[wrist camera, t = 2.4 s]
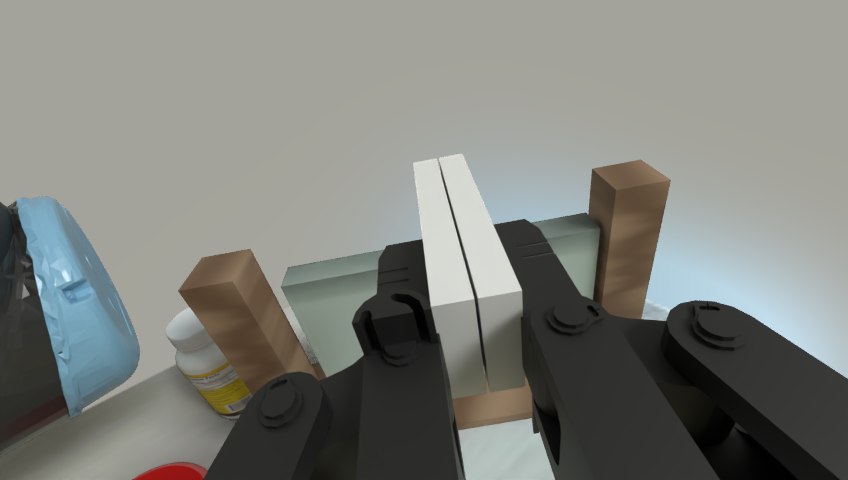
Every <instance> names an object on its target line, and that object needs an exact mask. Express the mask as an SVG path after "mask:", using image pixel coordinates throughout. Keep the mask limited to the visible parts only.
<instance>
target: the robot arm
mask: <svg viewBox="0 0 848 480" xmlns="http://www.w3.org/2000/svg"><path fill="white" fill-rule="evenodd" d="M439 163H440V169H439V166H438V162H437V159H431V160H426V161H421V162H415V163H413V166H414V174H415V182H416V190H417V198H418V206H419V214H420V222H421V231H422V239H421V240H415V241H410V242H404V243H399V244H393V245H388V246H386V248H385V249H384V251H383V253H382V254H381V256H380V257H379V259H378V277H377V286H378V287H377V294H376V295H374V296H373V297H371V298H370V299H368V300H366V301H365V302H364V303H363V304H362V305H361V306H360V307H359V309H358V310H357V311H356V312H355V315H354V318H353V320H352V326H353V328H354V331H355V333H356V336H357V339H358V341H359V344H360V346H361V349H362V351H363V354H364V355H363V356H362V357H361V358H360V359H359V360H357V361H356V362H355V363H354V364H352V365H351V366H349V367H347V368H345V369H344V370H342V371H339V372H337V373H335V374H333V375H331V376H329V377H327V378H324V379H322V380H320V381H318V380H317V379H316V378H315V377H314V376H313V375H312V374H309V373H305V372H301V371H298V372H291V373H285V374H283V375H281V376H278V377H276V378H274V379H272V380H270V381H269V382H268V383H266V384H265V385H264V386H262V387H261V388H260V389H259V390H257V392H256V393H255V394H254V395H253V397H252V398H251V399H250V401H249V402H248V403H247V404H246V406H245V408H244V410H243V411H242V413H241V415H240V417H239V418H238V420H237V422H236V423H235V425H234V427H233V429H232V430H231V432H230V434H229V436H228V437H227V439H226V441H225V442H224V444H223V446H222V448H221V449H220V451H219V453H218V455H217V456H216V458H215V460H214V461H213V463H212V465H211V467H210V468H209V470H208V472H207V473H206V475H205V477H204V479H203V480H466V478H465V472H464V465H463V459H462V453H461V446H460V440H459V434H458V427H457V422H456V418H455V413H454V407H453V401H452V399H455V398H461V397H467V396H473V395H479V394H485V393H487V391H486V384H485V376H484V371H485V375H486V379H487V383H488V387H489V391H490V393H491V392H497V391H503V390H509V389H514V388H520V387H525V375H526V378H527V381H528V384H529V387H530V389H531V392H532V423H533V432H534V433H539V431H540V434H541V437H542V441H543V444H544V447H545V450H546V453H547V456H548V459H549V462H550V465H551V468H552V471H553V474H554V477H555V480H848V379H847V378H845V377H844V376H842V375H841V374H839V373H838V372H836V371H835V370H833V369H832V368H830V367H829V366H827V365H826V364H824V363H822V362H821V361H819V360H818V359H816V358H815V357H813V356H812V355H810V354H809V353H807V352H805V351H804V350H802V349H801V348H799V347H798V346H796V345H795V344H793V343H792V342H790V341H788V340H787V339H786V338H784V337H782V336H781V335H779V334H778V333H776V332H775V331H773V330H772V329H770V328H769V327H767V326H766V325H764V324H763V323H761V322H759V321H758V320H756V319H755V318H753V317H752V316H750V315H748V314H746V313H744V312H742V311H740V310H738V309H736V308H734V307H731V306H728V305H724V304H720V303H717V302H712V301H696V300H695V301H690V302H685V303H681V304H679V305H677V306H676V307H674V308H673V309H671V310H670V312H669V315H668V317H667V320H666V321H658V320H644V319H631V318H624V317H618V316H615V315H611V314H609V313H608V312H607V311H606V310H605V309H604V308H603V307H602V306H601V305H600V304H599V303H597V302H595V301H593V300H592V299H590V298H588V297H585V296H582V295H581V294H580V292H579V291H578V289H577V287H576V286H575V284H574V283H573V281H572V279H571V278H570V276H569V275H568V273H567V271H566V270H565V268H564V267H563V265H562V263H561V262H560V260H559V259H558V257H557V255H556V254H554V251H553V249H552V248H551V246H550V244H549V243H547V240H546V238H545V236H544V235H543V233H542V232H541V230H540V228H538V227H537V226H535V225H534V224H532V223H530V222H529V221H527V220H525V219H522V220H517V221H512V222H506V223H500V224H495V225H493V223H492V221H491V218H490V216H489V214H488V212H487V209H486V207H485V205H484V202H483V200H482V198H481V195H480V193H479V191H478V189H477V186H476V184H475V182H474V179H473V177H472V175H471V172H470V170H469V168H468V166H467V163H466V161H465V159H464V157H463V155H462V154H457V155H452V156H447V157H442V158H439ZM440 170H441V173H440ZM441 176H442V177H441ZM139 356H140V348H139V343H138V339H137V336H136V333H135V330H134V328H133V325H132V323H131V320H130V318H129V316H128V313H127V311H126V309H125V307H124V305H123V303H122V301H121V299H120V297H119V294H118V292H117V290H116V288H115V286H114V284H113V282H112V281H111V279H110V277H109V275H108V273H107V271H106V269H105V268H104V266H103V264H102V262H101V261H100V259H99V257H98V255H97V254H96V252H95V250H94V249H93V247H92V245H91V244H90V242H89V240H88V239H87V237H86V236H85V234H84V232H83V231H82V229H81V228H80V227H79V225H78V224H77V222H76V221H75V220H74V218H73V217H72V215H71V214H70V213H69V212H68V210H67V209H66V208H64V207H63V206H62V205H61V204H59V203H58V202H57V200H55V199H52V198H50V197H36V198H31V199H30V198H20V199H18V200H16V201H15V202H14V203H13V204H11V205H9V206H8V207H6V206H5V205H3V204H2V203H1V202H0V457H1V456H3V455H5V454H7V453H8V452H10V451H12V450H14V449H16V448H17V447H19V446H21V445H23V444H25V443H26V442H28V441H30V440H32V439H34V438H35V437H37V436H39V435H41V434H42V433H44V432H46V431H48V430H50V429H51V428H53V427H55V426H57V425H59V424H60V423H62V422H64V421H66V420H68V419H69V418H70V419H72V418H74V417H76V416H78V415H79V414H80V413H81V411H82V409H83V408H84V407H86V406H88V405H89V404H91V403H92V402H94V401H95V400H97V399H99V398H100V397H102V396H104V395H105V394H107V393H108V392H110V391H112V390H113V389H115V388H116V387H118V386H119V385H121V384H122V383H124V382H125V381H126V380H128V378H130V377H131V375H132V374H133V373H134V371H135V370H136V368H137V366H138V361H139ZM483 367H484V368H483Z"/></svg>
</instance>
